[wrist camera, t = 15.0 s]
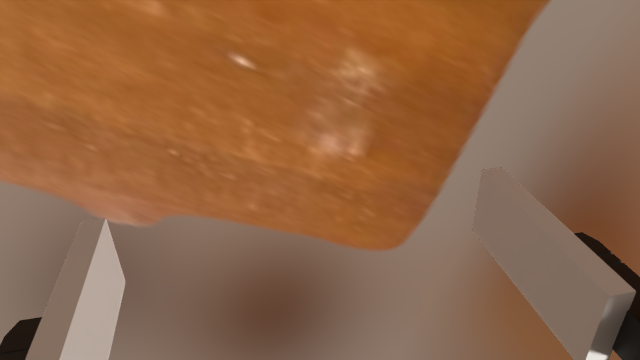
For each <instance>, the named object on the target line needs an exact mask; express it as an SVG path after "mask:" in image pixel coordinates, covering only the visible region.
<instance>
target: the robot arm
mask: <svg viewBox="0 0 640 360" xmlns="http://www.w3.org/2000/svg"><path fill="white" fill-rule="evenodd" d="M472 231H473V232H474V233H475V235H476V236H477V237H478V238H479V240H480V241H481V242H482V243H483V245H484V246H485V247H486V249H487V250H488V251H489V252H490V254H491V255H492V256H493V257H494V259H495V260H496V261H497V263H498V264H499V265H500V266H501V268H502V269H503V270H504V271H505V273H506V274H507V275H508V276H509V278H510V279H511V280H512V282H513V283H514V284H515V285H516V287H517V288H518V289H519V290H520V292H521V293H522V294H523V296H524V297H525V298H526V299H527V301H528V302H529V303H530V304H531V306H532V307H533V308H534V309H535V311H536V312H537V313H538V315H539V316H540V317H541V318H542V319H543V321H544V322H545V323H546V324H547V326H548V327H549V328H550V330H551V331H552V332H553V333H554V335H555V336H556V337H557V339H558V340H559V341H560V342H561V344H562V345H563V346H564V347H565V349H566V350H567V351H568V352H569V354H570V355H571V356H572V357H573V359H574V360H609V357H610V355H611V353H612V350H614V351H615V352H616V353H617V354H618V356H619V357H620V358H621V359H622V360H640V277H639V276H638V275H637V274H636V273H634V272H633V271H632V270H631V269H630V268H628V266H627V265H625V264H624V263H621V260H620V259H619V258H617V257H616V256H615V255H614V254H611V251H609V250H608V249H607V248H606V247H605V246H604V245H603V244H602V243H600V242H599V241H598V240H596V239H594V238H592V237H590V236H588V235H586V234H584V233H582V232H581V233H575V234H573V233H572V232H571V231H570V230H569V229H568V228H567V227H566V226H565V225H564V224H563V223H561V222H560V221H559V220H558V219H557V218H556V217H555V216H554V215H553V214H552V213H551V212H550V211H548V210H547V209H546V208H545V207H544V206H543V205H542V204H541V203H540V202H539V201H538V200H537V199H535V198H534V197H533V196H532V195H531V194H530V193H529V192H528V191H527V190H526V189H525V188H523V187H522V186H521V185H520V184H519V183H518V182H517V181H516V180H515V179H514V178H512V177H511V176H510V175H509V174H508V173H507V172H506V171H505V170H504V169H503V168H502V167H499V168H490V169H483V170H482V173H481V179H480V185H479V191H478V197H477V204H476V210H475V216H474V222H473V228H472ZM124 287H125V279H124V276H123V272H122V269H121V266H120V262H119V259H118V256H117V253H116V249H115V246H114V243H113V240H112V237H111V233H110V230H109V227H108V224H107V220H106V218H101V219H93V220H85V221H81V222H80V225H79V227H78V229H77V232H76V234H75V237H74V239H73V242H72V244H71V247H70V249H69V252H68V254H67V257H66V259H65V262H64V264H63V267H62V269H61V272H60V274H59V277H58V279H57V282H56V284H55V286H54V289H53V292H52V294H51V297H50V299H49V302H48V304H47V307H46V309H45V311H44V314H43V316H42V317H40V318H34V319H27V320H20V321H19V322H18V323H17V324H16V325H15V326H14V327H13V328H12V329H11V330H10V331H9V332H8V333H7V335H6V336H5V337H4V339H3V341H2V343H1V345H0V360H108V359H109V355H110V350H111V346H112V341H113V337H114V332H115V327H116V323H117V318H118V314H119V309H120V305H121V300H122V295H123V291H124Z"/></svg>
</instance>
